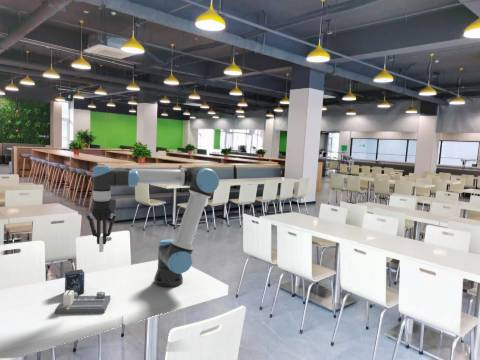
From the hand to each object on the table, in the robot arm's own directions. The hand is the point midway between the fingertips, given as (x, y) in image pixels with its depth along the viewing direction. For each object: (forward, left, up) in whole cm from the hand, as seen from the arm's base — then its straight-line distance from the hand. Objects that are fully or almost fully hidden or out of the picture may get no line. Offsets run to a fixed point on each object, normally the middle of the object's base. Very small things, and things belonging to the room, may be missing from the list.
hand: (101, 251), depth 170 cm
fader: (+12, +7, -22) cm, 26 cm away
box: (+14, -11, -24) cm, 30 cm away
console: (+6, +5, -24) cm, 25 cm away
